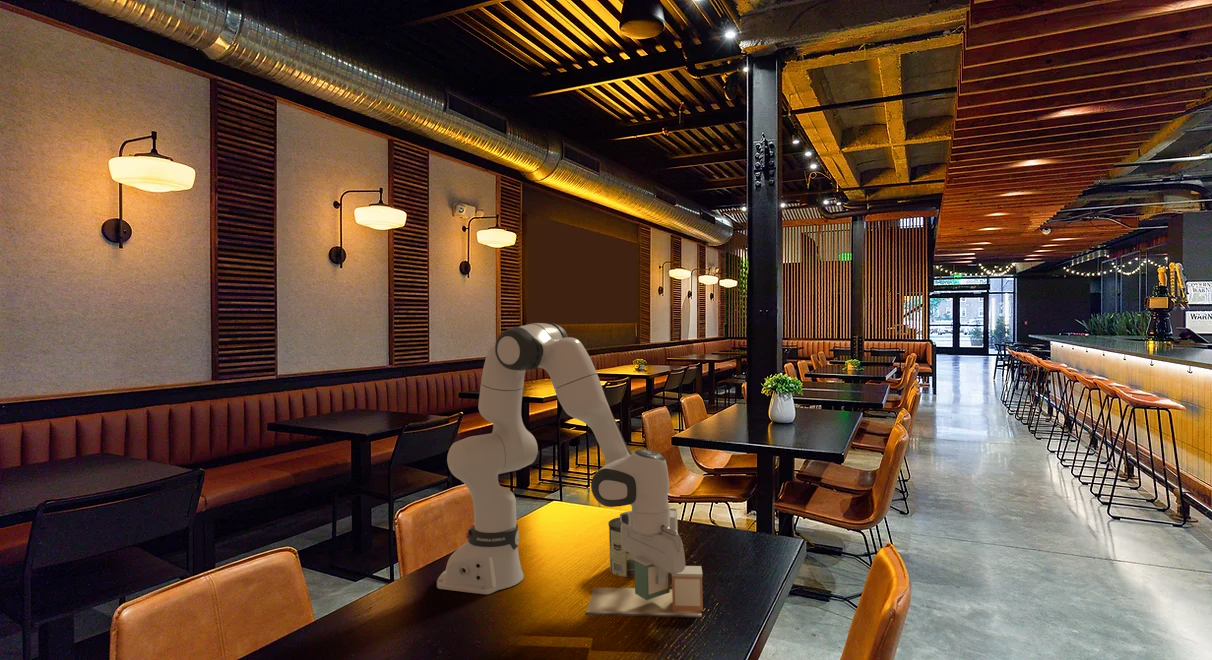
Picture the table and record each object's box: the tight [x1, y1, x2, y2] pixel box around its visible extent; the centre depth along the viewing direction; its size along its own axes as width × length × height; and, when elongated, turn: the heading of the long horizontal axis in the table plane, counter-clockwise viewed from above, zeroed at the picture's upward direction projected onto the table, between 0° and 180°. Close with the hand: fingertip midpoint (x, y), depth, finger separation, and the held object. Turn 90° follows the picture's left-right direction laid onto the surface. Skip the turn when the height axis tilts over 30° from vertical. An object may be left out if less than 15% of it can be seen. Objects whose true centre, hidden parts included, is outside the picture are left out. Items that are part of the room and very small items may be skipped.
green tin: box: [634, 556, 671, 600], centre depth 137 cm, size 5×7×8 cm
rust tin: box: [671, 565, 704, 612], centre depth 136 cm, size 5×7×8 cm
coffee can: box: [608, 516, 636, 578], centre depth 158 cm, size 10×10×14 cm
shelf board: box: [585, 586, 703, 618], centre depth 139 cm, size 26×14×2 cm, turn 84°
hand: (652, 580), depth 137 cm, fingers closed on green tin, 5 cm apart
